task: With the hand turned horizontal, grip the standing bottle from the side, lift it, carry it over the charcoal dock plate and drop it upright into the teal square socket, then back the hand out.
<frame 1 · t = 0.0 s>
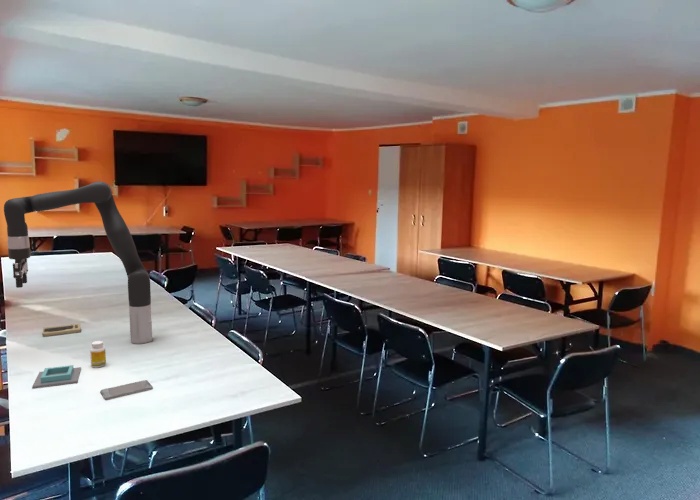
hand: (21, 285, 205), 29 cm above the table, tool pointing down, fingers open, 8 cm apart
phone: (127, 392, 175), on the table
supplement bottle: (98, 365, 197), on the table
computer: (62, 333, 236), on the table
bottle dock: (58, 378, 184), on the table
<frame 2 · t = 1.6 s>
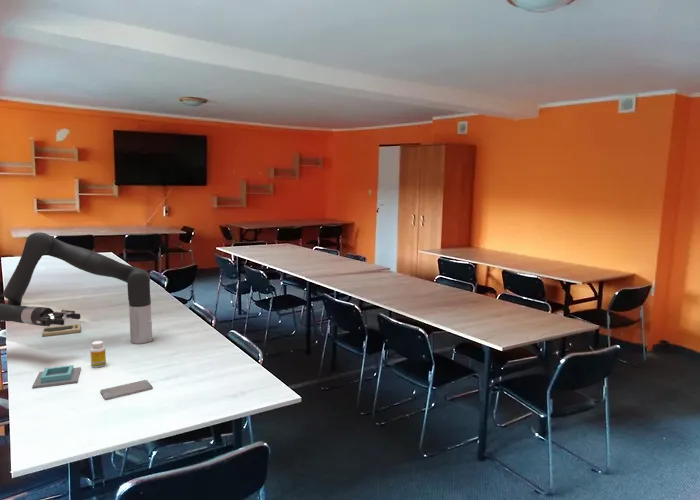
hand: (71, 319, 196), 18 cm above the table, tool horizontal, fingers open, 8 cm apart
nothing on the table moved.
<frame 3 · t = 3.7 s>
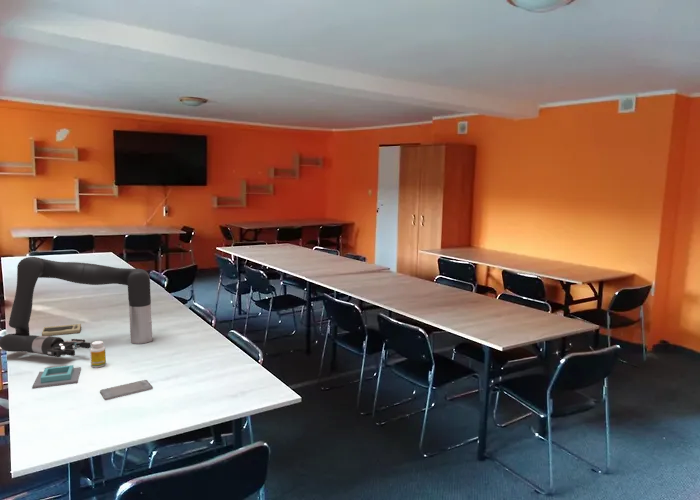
hand: (82, 349, 198), 6 cm above the table, tool horizontal, fingers open, 8 cm apart
nothing on the table moved.
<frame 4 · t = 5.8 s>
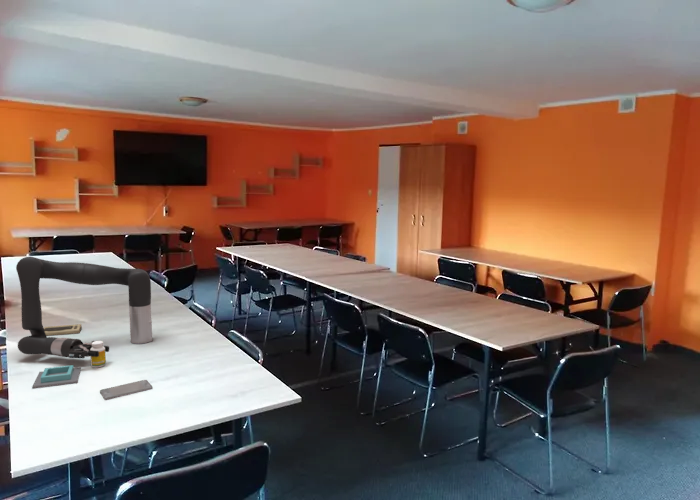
hand: (103, 351, 195), 6 cm above the table, tool horizontal, fingers closed on supplement bottle, 5 cm apart
supplement bottle: (98, 365, 197), on the table, touching gripper
everything else where it was.
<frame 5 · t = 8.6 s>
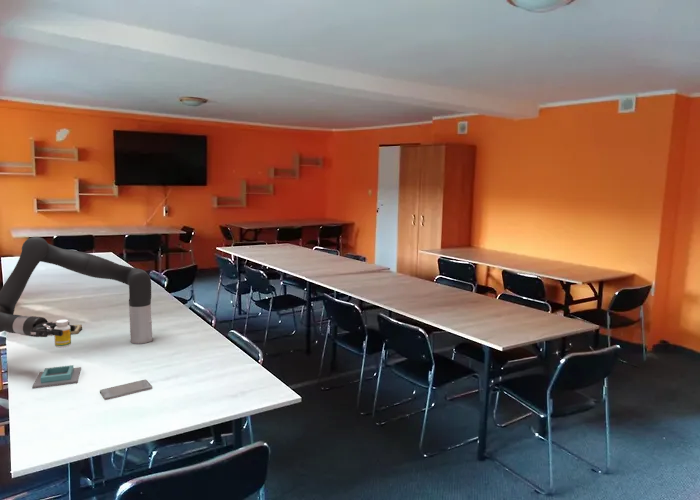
hand: (68, 330, 183), 18 cm above the table, tool horizontal, fingers closed on supplement bottle, 5 cm apart
supplement bottle: (63, 345, 185), point 12 cm above the table, touching gripper
when the fingers open (9 cm above the table, at t = 11.3 s): supplement bottle drops 2 cm, resting on bottle dock.
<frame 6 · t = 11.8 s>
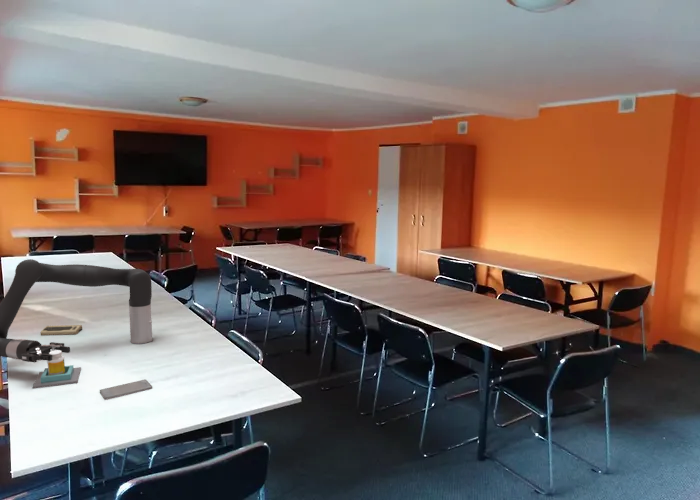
hand: (60, 353, 182), 10 cm above the table, tool horizontal, fingers open, 8 cm apart
supplement bottle: (57, 376, 183), point 1 cm above the table, touching bottle dock
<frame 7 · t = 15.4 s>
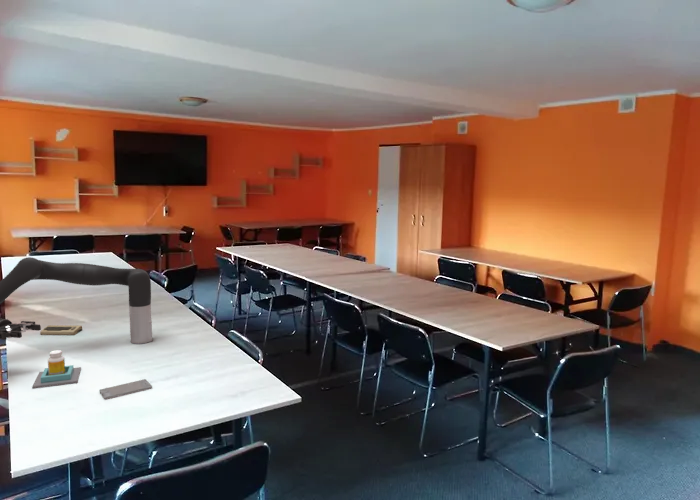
hand: (30, 331, 183), 17 cm above the table, tool horizontal, fingers open, 8 cm apart
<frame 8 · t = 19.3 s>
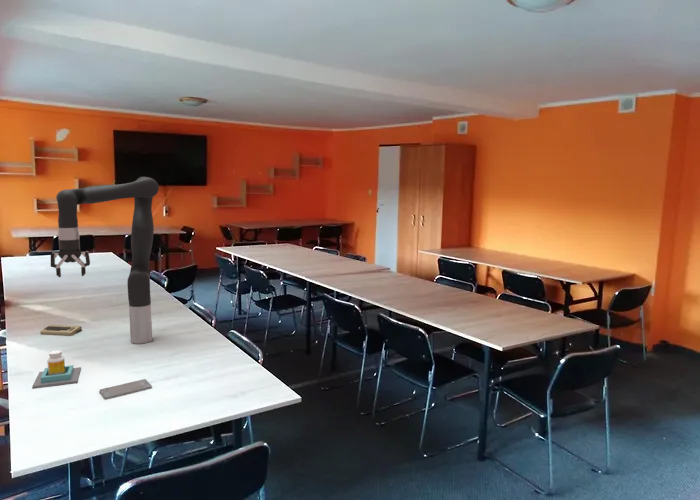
hand: (71, 276, 206), 33 cm above the table, tool pointing down, fingers open, 8 cm apart
at the end: supplement bottle 0.2 cm off-centre on the bottle dock, point 0.6 cm above the bottle dock's base; supplement bottle tilted 0°; the gripper is holding nothing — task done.
